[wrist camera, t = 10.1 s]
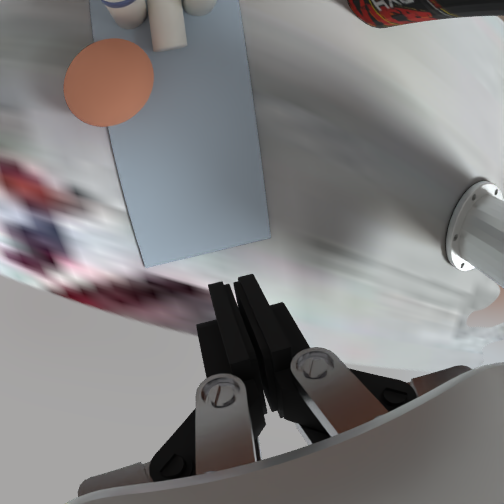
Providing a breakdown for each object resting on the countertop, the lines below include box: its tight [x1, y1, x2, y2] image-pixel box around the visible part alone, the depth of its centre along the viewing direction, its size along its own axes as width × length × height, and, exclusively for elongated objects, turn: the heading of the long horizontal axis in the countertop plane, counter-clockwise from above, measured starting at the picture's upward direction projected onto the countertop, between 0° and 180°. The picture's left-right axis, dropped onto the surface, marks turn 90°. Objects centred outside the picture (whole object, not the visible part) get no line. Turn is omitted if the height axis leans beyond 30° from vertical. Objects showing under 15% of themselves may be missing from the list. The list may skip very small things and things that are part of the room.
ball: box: [64, 38, 154, 127], centre depth 17 cm, size 6×6×6 cm
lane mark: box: [89, 0, 271, 268], centre depth 21 cm, size 11×25×1 cm, turn 8°
